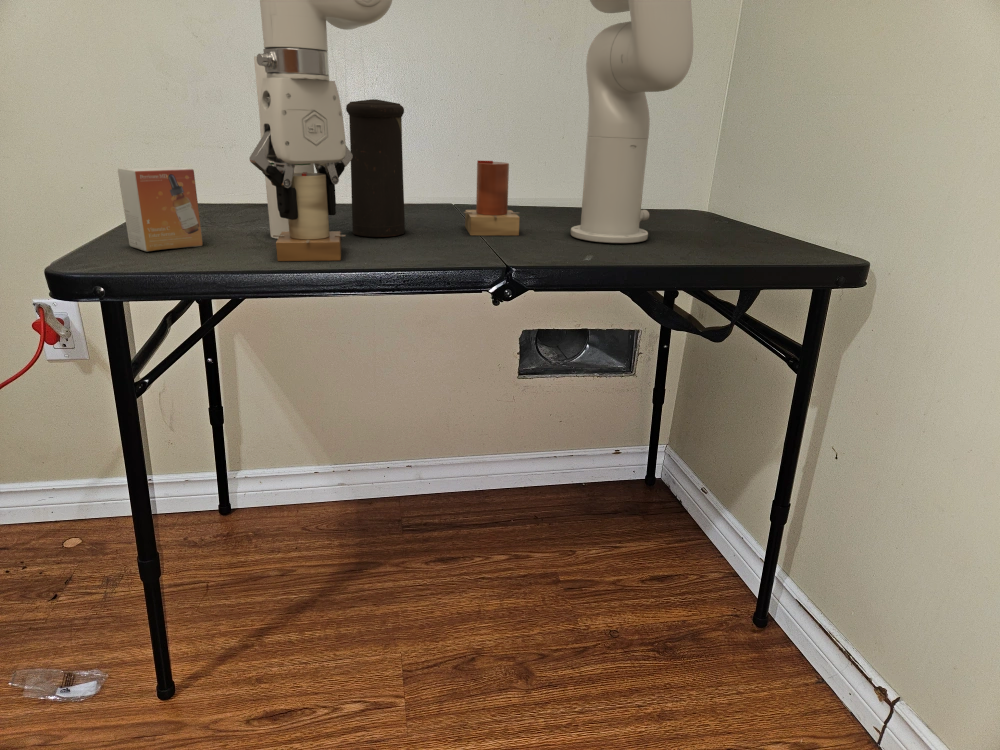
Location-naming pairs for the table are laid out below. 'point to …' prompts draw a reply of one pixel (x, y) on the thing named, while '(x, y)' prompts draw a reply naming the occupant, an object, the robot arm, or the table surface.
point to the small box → (160, 207)
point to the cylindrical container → (274, 217)
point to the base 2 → (492, 224)
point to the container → (376, 168)
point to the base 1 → (309, 248)
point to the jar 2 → (492, 188)
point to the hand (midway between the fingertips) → (308, 214)
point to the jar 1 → (310, 207)
